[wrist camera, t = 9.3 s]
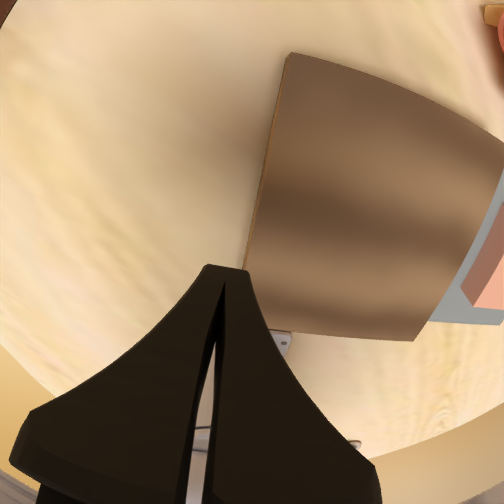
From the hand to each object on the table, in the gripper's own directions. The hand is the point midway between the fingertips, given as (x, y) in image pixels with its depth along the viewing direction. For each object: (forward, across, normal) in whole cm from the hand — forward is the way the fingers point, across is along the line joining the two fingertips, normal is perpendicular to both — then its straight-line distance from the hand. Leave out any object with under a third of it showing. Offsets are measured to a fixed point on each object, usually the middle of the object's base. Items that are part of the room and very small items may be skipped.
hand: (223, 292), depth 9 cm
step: (+9, -8, 0) cm, 12 cm away
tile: (+6, -22, 0) cm, 23 cm away
